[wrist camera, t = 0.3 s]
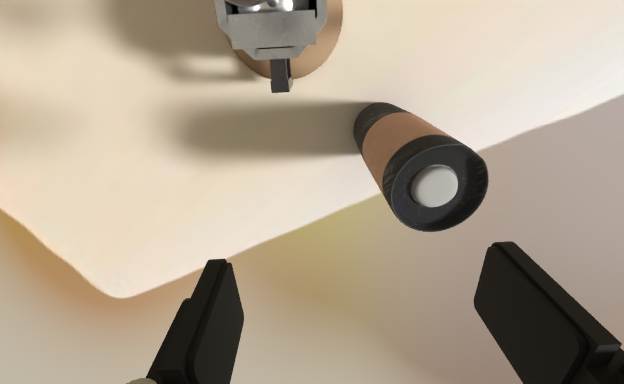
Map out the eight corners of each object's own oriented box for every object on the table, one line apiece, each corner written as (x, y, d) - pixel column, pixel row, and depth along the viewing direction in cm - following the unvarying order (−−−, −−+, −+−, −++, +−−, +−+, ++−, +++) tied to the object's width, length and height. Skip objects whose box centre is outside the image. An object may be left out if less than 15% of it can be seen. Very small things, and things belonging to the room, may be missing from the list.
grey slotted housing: (237, -30, 31) (198, -77, 20) (318, -35, 31) (325, -85, 20) (252, 83, 36) (228, 97, 25) (322, 79, 36) (329, 91, 25)
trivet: (210, -57, 31) (208, -59, 30) (341, -65, 31) (342, -67, 30) (233, 82, 37) (231, 83, 36) (342, 76, 37) (343, 76, 36)
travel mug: (355, 160, 42) (393, 241, 24) (347, 107, 38) (383, 154, 20) (408, 149, 41) (488, 224, 23) (404, 94, 38) (494, 131, 20)
